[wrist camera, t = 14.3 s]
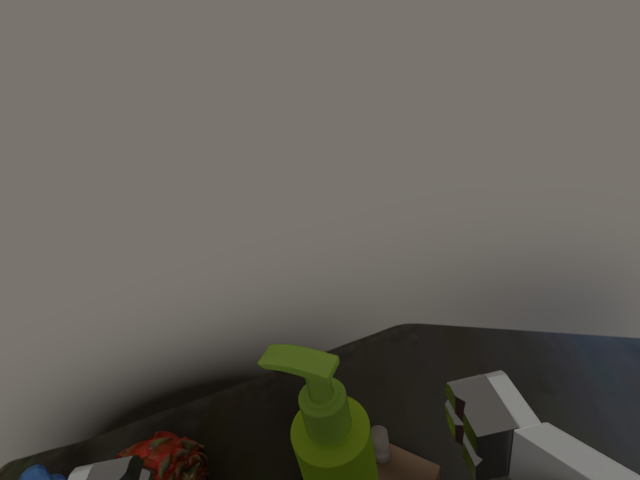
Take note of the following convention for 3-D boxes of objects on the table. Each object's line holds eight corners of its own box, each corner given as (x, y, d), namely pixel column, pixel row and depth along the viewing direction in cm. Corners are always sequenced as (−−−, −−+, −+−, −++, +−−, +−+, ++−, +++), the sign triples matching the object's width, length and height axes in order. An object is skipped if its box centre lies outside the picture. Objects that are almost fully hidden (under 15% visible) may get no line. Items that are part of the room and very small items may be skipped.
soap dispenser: (324, 472, 39) (282, 320, 30) (392, 497, 36) (370, 336, 27) (298, 536, 35) (238, 382, 25) (373, 570, 32) (338, 410, 22)
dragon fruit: (233, 498, 42) (129, 533, 43) (218, 415, 46) (122, 448, 46) (197, 518, 35) (71, 561, 35) (182, 417, 38) (68, 456, 39)
